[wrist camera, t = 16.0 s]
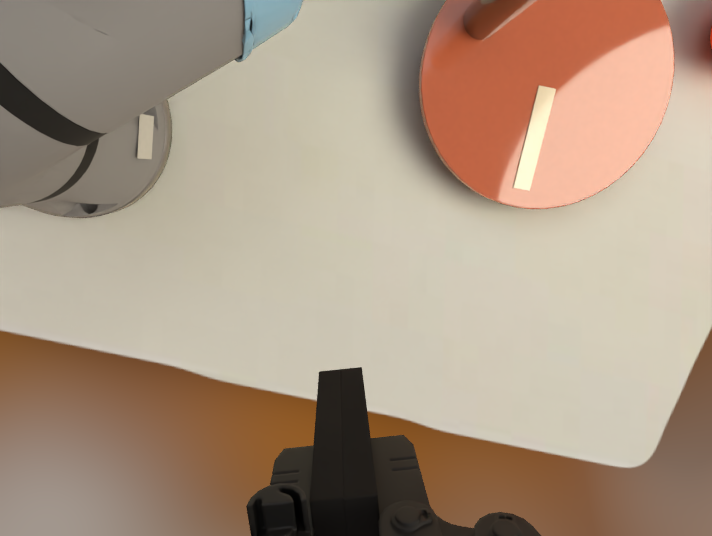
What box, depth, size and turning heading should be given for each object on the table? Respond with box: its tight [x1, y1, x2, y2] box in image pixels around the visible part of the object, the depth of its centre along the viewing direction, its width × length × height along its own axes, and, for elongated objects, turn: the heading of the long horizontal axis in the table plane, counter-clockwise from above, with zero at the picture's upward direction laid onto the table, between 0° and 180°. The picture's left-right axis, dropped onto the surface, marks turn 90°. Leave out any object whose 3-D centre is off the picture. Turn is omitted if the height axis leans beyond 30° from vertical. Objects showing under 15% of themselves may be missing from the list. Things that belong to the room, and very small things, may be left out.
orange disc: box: [419, 0, 674, 209], centre depth 32 cm, size 20×20×14 cm
